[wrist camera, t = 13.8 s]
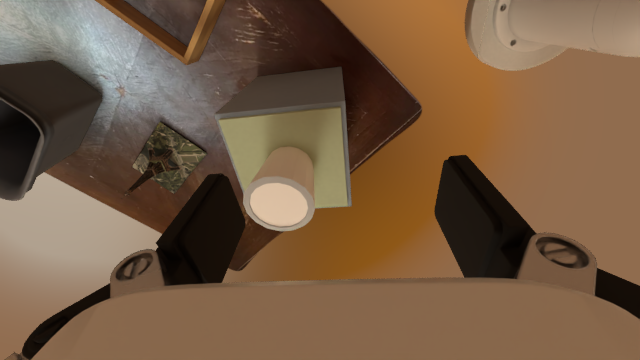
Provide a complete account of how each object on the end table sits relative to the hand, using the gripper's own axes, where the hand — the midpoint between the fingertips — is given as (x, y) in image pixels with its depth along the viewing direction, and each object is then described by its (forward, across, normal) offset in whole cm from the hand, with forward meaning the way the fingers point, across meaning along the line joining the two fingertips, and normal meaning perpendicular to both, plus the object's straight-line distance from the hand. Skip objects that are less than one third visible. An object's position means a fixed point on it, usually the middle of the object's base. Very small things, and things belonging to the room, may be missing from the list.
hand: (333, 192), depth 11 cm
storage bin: (+34, +51, +2) cm, 62 cm away
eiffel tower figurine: (+34, +36, +15) cm, 52 cm away
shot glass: (+16, +6, +8) cm, 19 cm away
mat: (+16, +6, +8) cm, 19 cm away
